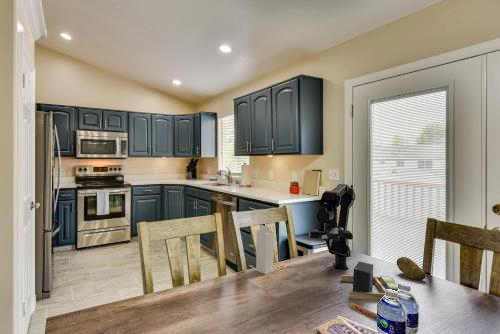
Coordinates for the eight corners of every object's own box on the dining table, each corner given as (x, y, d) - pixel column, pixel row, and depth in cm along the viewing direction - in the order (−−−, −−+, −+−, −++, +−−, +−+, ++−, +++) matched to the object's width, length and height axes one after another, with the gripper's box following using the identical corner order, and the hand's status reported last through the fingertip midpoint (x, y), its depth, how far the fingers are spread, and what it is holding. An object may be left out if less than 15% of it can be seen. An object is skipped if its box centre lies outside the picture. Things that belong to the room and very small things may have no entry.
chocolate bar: (379, 324, 99) (379, 317, 99) (349, 308, 108) (349, 302, 108) (383, 321, 100) (383, 315, 100) (353, 306, 110) (353, 300, 110)
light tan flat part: (341, 280, 132) (341, 271, 132) (391, 282, 130) (392, 274, 129) (350, 298, 115) (350, 288, 115) (408, 302, 113) (409, 291, 113)
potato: (411, 282, 130) (411, 265, 130) (393, 271, 143) (393, 255, 142) (428, 282, 131) (428, 264, 131) (408, 270, 144) (409, 254, 143)
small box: (369, 298, 116) (369, 272, 115) (352, 294, 119) (352, 268, 119) (373, 288, 125) (374, 263, 124) (357, 284, 128) (358, 260, 128)
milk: (265, 274, 138) (265, 228, 137) (255, 270, 142) (256, 226, 141) (273, 270, 142) (274, 226, 141) (263, 267, 146) (264, 223, 145)
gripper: (311, 222, 126) (311, 258, 126) (356, 223, 124) (355, 260, 124) (309, 216, 137) (308, 249, 137) (350, 218, 135) (349, 251, 135)
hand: (329, 252), depth 133 cm, fingers closed
